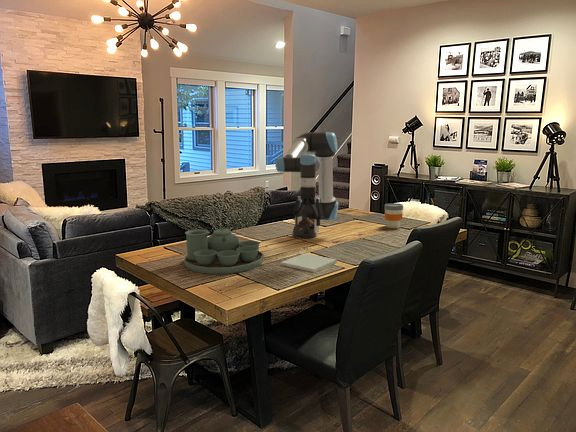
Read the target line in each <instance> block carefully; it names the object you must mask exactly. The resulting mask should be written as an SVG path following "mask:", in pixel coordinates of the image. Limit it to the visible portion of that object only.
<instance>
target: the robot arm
mask: <svg viewBox="0 0 576 432" xmlns="http://www.w3.org/2000/svg"><path fill="white" fill-rule="evenodd" d="M306 153H307V154H306ZM308 153H311V154H308ZM312 153H313V154H312ZM336 153H338V140H337V136H336V134H335V133H334V132H330V131H329V132H328V131H316V132H310V131H309V132H305V133H302V134H300V135H299V136H297V137H295V138H294V140H293V141H292V142H291V147H290V148H289V150H287V153H286V154H285V155H284V156H281V157H277V158H276V160H275V169H276V172H278V173H300V176H299V177H300V183H299V184H300V189H299V190H300V195H297V196H295V202H294V208H293V211H292V215H293V216H295V217H294V227H293V230H292V233H291V234H292V237H293V238H295V239H312V238H315V237H316V238H317V233H320V226H321V221H336V219H337V216H338V210H339V201H337V199H336V197H335V196H334V178H333V177H334V176H333V173H334V172H333V166H334V165H333V158H334V157H335V156H336ZM316 172H317V173H316ZM317 174H318V178H317V176H316V175H317ZM316 179H318V197H316V192H317V190H316V189H317V188H316V187H317V186H316V185H317V184H316V183H317V182H316ZM305 218H309V220H310V219H314V220H315V234H314V231H313V230H314V229H310V227H309V226H305V225H304V229H300V232H299V231H298V230H297V226H296V224H298V225H299V222H300V221H301V220H303V219H305Z"/></svg>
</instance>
